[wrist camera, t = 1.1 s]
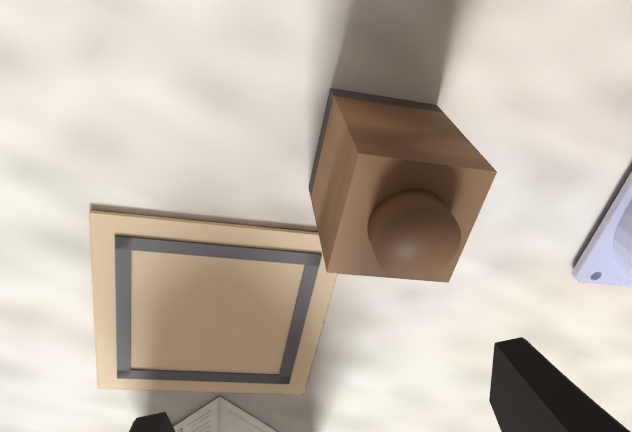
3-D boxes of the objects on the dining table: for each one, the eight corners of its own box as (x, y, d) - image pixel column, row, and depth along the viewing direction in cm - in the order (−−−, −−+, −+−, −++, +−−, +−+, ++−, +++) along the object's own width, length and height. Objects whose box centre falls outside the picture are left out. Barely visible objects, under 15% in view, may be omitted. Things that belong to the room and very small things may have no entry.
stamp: (436, 104, 18) (513, 190, 13) (404, 198, 20) (459, 304, 15) (330, 87, 17) (366, 171, 12) (308, 187, 19) (331, 294, 14)
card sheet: (346, 235, 21) (347, 239, 20) (302, 391, 26) (303, 396, 26) (90, 209, 19) (88, 214, 18) (98, 385, 24) (97, 390, 23)
